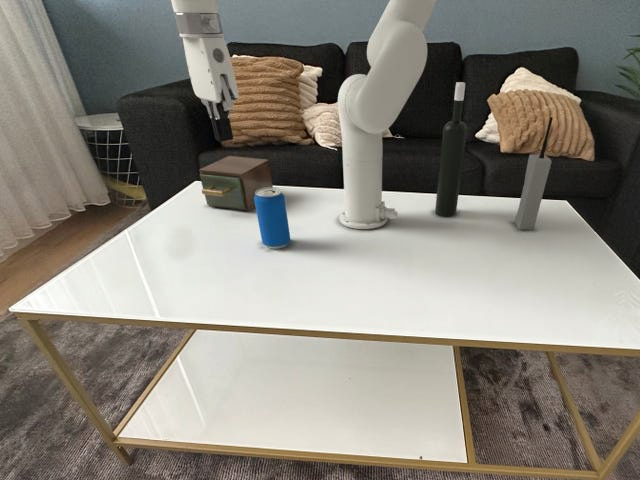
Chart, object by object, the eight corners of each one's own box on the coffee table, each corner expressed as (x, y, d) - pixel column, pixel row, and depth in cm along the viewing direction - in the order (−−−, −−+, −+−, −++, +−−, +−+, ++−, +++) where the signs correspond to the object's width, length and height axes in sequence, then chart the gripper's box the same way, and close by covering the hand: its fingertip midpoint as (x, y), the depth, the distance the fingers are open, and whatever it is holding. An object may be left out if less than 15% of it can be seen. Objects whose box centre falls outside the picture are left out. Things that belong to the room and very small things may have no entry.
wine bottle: (459, 212, 113) (477, 82, 93) (450, 218, 109) (467, 84, 89) (440, 208, 115) (454, 80, 95) (431, 214, 111) (444, 82, 92)
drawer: (236, 214, 106) (229, 183, 101) (197, 209, 108) (189, 179, 103) (268, 193, 119) (263, 165, 114) (233, 189, 121) (227, 161, 116)
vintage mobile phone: (527, 222, 108) (554, 114, 91) (533, 230, 104) (563, 118, 88) (513, 222, 108) (538, 114, 91) (519, 230, 104) (546, 118, 88)
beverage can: (294, 239, 97) (287, 187, 89) (286, 251, 92) (278, 197, 85) (267, 237, 98) (258, 186, 90) (258, 249, 93) (248, 195, 85)
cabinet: (249, 211, 110) (241, 174, 104) (208, 206, 113) (199, 169, 107) (274, 194, 121) (268, 159, 115) (236, 189, 124) (229, 155, 117)
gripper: (240, 27, 71) (260, 143, 83) (199, 25, 79) (223, 131, 91) (200, 28, 67) (226, 149, 79) (161, 26, 75) (191, 136, 87)
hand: (224, 139), depth 85 cm, fingers closed
